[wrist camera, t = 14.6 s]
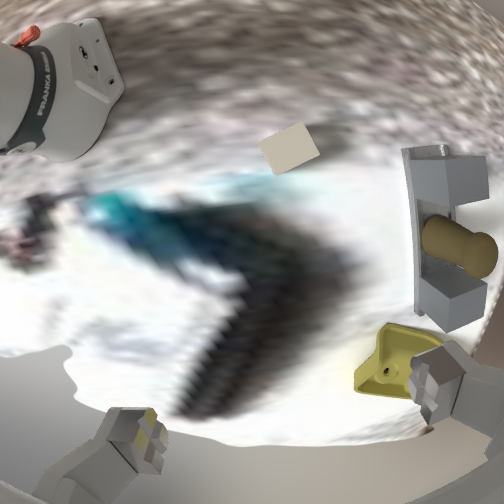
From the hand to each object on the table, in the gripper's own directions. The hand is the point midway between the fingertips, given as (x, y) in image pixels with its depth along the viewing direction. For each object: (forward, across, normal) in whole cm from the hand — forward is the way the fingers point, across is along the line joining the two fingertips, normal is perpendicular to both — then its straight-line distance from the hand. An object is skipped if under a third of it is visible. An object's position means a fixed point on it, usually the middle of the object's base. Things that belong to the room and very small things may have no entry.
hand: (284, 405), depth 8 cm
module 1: (+28, -24, -2) cm, 37 cm away
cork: (+27, -24, +6) cm, 37 cm away
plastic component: (+29, -19, +28) cm, 45 cm away
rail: (+29, -24, +6) cm, 38 cm away
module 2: (+28, -24, +14) cm, 39 cm away
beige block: (+29, -5, -8) cm, 31 cm away
